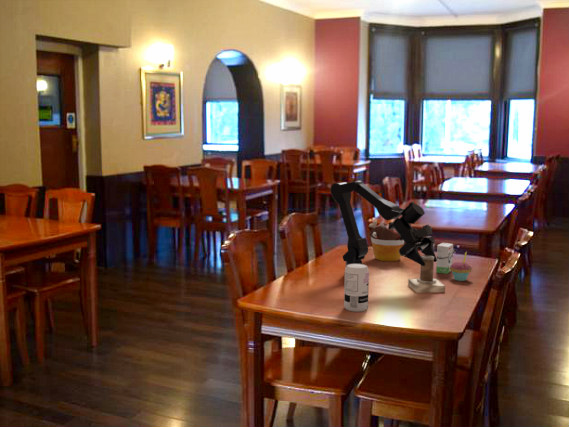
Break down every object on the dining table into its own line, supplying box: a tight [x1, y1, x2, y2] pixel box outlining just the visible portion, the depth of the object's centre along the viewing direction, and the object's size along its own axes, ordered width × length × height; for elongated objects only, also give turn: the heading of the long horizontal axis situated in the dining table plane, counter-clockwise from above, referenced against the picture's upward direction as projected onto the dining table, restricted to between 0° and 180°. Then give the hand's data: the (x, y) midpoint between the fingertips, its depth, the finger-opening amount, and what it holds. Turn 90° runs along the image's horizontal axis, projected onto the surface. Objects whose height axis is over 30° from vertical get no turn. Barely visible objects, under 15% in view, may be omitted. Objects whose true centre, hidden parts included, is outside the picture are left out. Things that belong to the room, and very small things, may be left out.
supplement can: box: [343, 263, 370, 313], centre depth 216 cm, size 8×8×15 cm
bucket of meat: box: [368, 220, 412, 263], centre depth 294 cm, size 20×16×20 cm
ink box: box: [435, 242, 454, 275], centre depth 272 cm, size 9×5×12 cm, turn 150°
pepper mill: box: [416, 254, 436, 284], centre depth 244 cm, size 5×5×10 cm
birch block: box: [407, 278, 446, 293], centre depth 244 cm, size 11×11×3 cm
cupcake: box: [450, 250, 473, 282], centre depth 258 cm, size 9×8×12 cm
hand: (430, 263), depth 242 cm, fingers open, 9 cm apart
